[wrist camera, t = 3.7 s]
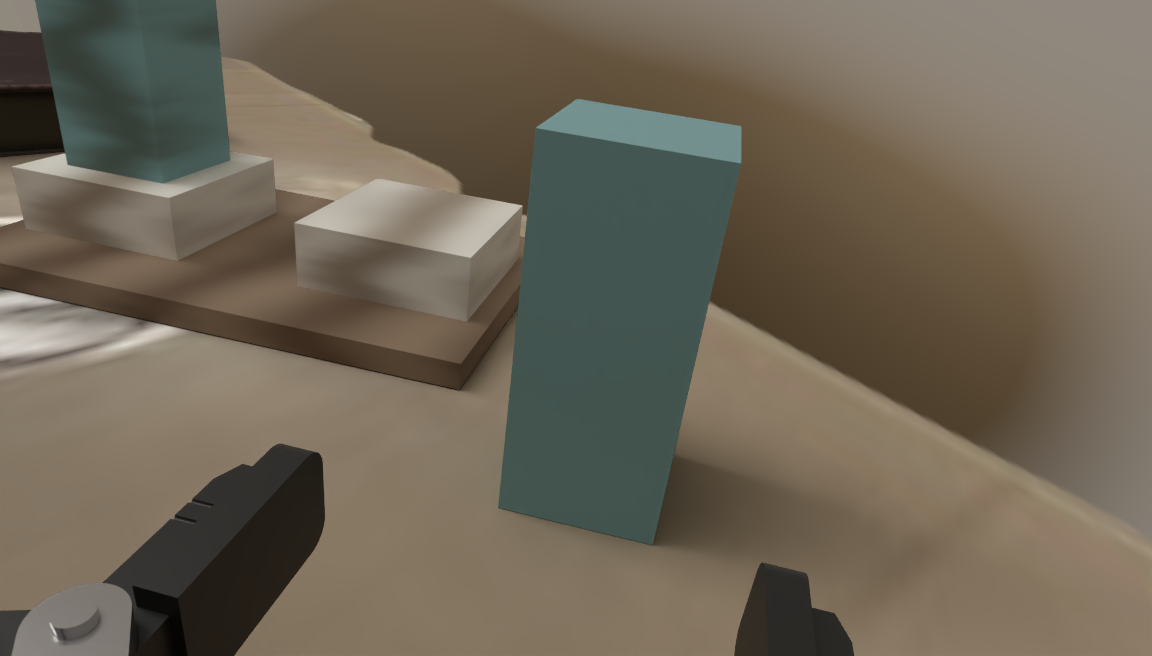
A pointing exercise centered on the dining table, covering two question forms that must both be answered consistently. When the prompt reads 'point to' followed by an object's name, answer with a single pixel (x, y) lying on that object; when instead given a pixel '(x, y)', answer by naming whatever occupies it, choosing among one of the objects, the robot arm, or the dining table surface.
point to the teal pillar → (612, 310)
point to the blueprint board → (257, 298)
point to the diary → (26, 97)
